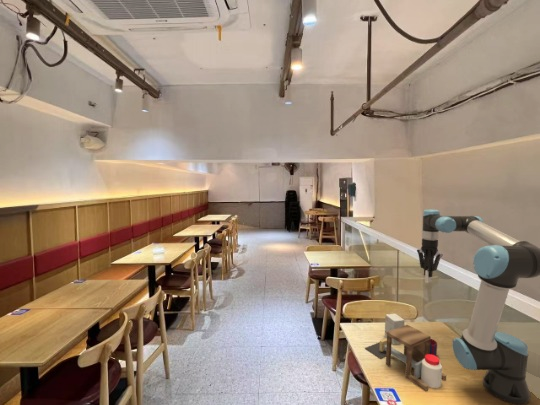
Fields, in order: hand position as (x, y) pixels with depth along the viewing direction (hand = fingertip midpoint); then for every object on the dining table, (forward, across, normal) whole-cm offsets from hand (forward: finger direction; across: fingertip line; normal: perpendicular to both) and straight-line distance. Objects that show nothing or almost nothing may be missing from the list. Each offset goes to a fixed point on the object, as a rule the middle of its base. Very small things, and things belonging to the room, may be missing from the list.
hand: (427, 282), depth 159 cm
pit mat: (+32, +5, +29) cm, 44 cm away
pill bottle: (+33, -21, +30) cm, 49 cm away
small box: (+32, +8, +15) cm, 37 cm away
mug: (+33, -8, +12) cm, 36 cm away
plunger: (+32, -6, +29) cm, 44 cm away
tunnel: (+32, -13, +29) cm, 46 cm away
